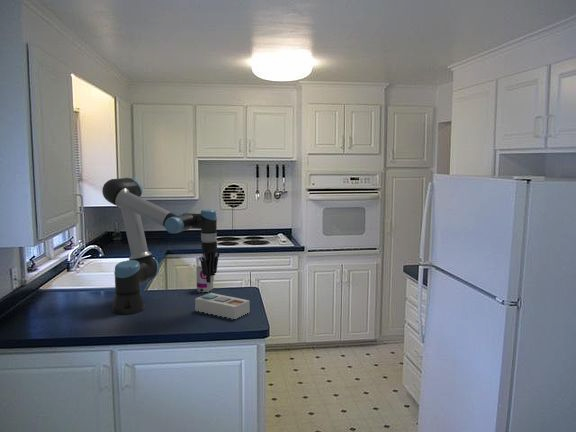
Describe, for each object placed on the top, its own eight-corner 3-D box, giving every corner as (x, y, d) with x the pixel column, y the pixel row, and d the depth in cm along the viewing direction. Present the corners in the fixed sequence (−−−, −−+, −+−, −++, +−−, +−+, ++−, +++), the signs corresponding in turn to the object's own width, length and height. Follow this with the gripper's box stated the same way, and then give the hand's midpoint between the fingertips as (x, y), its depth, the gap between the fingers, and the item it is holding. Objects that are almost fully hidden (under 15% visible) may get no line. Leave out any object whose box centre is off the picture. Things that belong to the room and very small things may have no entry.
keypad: (234, 319, 225) (234, 307, 224) (195, 310, 237) (195, 298, 236) (249, 312, 235) (249, 300, 234) (211, 304, 247) (211, 292, 246)
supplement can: (212, 292, 268) (212, 266, 266) (197, 293, 266) (197, 267, 264) (210, 288, 276) (210, 263, 274) (196, 289, 274) (195, 263, 272)
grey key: (223, 309, 232) (223, 301, 231) (214, 307, 234) (214, 299, 234) (230, 306, 236) (230, 298, 236) (221, 304, 239) (221, 296, 239)
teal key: (210, 306, 236) (210, 298, 235) (201, 304, 238) (201, 296, 238) (217, 303, 240) (217, 295, 240) (208, 301, 243) (208, 293, 243)
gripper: (206, 244, 228) (207, 292, 231) (223, 240, 239) (224, 286, 242) (194, 242, 232) (195, 290, 235) (211, 238, 243) (212, 284, 246)
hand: (210, 288), depth 238 cm, fingers closed
